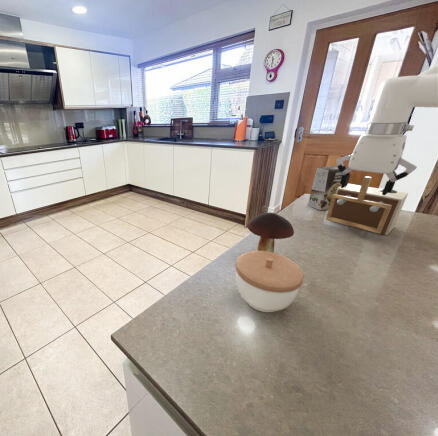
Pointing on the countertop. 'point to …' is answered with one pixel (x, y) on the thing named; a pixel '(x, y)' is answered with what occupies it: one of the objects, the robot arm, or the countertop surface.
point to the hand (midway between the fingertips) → (363, 190)
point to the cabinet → (368, 207)
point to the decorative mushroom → (269, 230)
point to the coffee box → (324, 187)
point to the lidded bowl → (267, 280)
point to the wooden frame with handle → (361, 200)
